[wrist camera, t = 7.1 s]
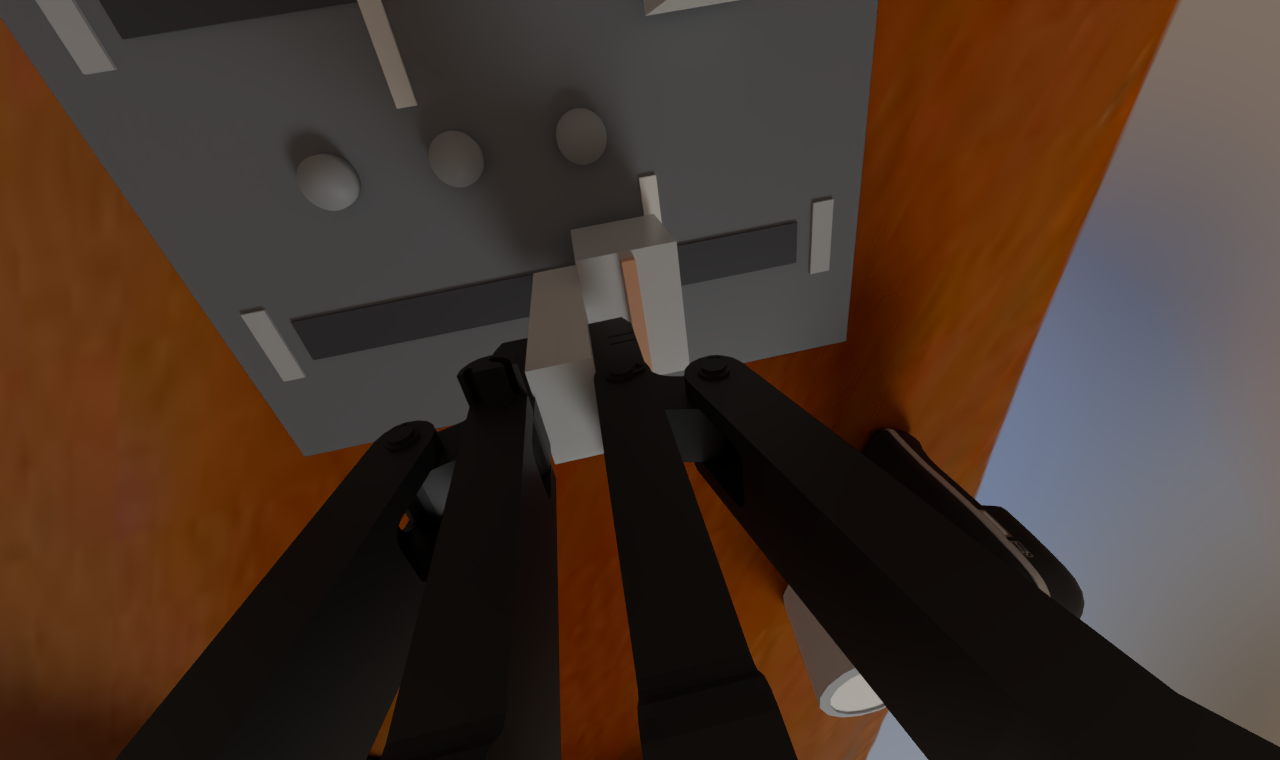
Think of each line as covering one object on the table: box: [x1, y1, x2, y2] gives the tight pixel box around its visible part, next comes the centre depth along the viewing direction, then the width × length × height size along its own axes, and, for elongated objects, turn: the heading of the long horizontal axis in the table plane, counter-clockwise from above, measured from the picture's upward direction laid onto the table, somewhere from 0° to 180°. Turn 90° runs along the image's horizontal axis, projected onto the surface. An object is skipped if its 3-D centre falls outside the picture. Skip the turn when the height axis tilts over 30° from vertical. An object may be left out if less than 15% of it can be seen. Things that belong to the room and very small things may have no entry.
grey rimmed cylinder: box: [783, 585, 886, 717], centre depth 32 cm, size 7×7×7 cm
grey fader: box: [571, 214, 690, 375], centre depth 16 cm, size 3×4×4 cm
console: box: [0, 0, 878, 456], centre depth 16 cm, size 24×20×3 cm
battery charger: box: [862, 429, 1084, 619], centre depth 25 cm, size 7×4×11 cm, turn 168°
